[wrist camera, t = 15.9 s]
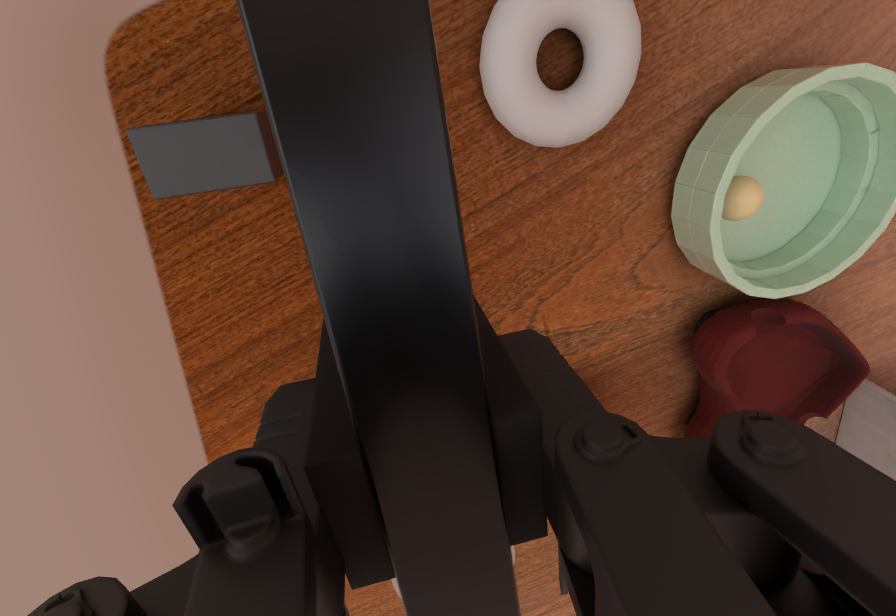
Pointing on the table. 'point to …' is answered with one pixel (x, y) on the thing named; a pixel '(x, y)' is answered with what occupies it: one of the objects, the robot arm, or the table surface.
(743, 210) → the small tan ball
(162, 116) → the table surface
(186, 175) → the dark grey rectangular block
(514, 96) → the donut
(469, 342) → the ladle
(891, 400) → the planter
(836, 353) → the ashtray
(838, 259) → the bowl
